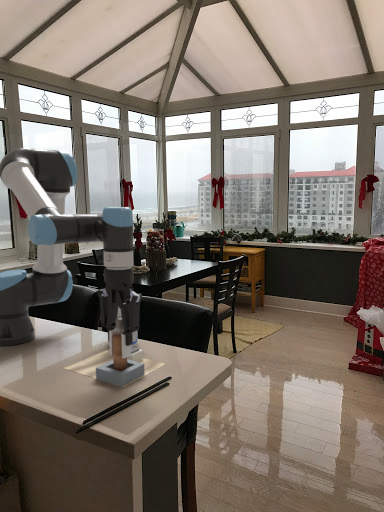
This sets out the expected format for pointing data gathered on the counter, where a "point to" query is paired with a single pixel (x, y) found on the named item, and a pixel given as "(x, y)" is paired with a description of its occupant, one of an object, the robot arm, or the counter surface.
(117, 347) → the awl
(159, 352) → the counter surface
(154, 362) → the plywood panel
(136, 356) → the block
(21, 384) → the counter surface
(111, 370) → the socket
